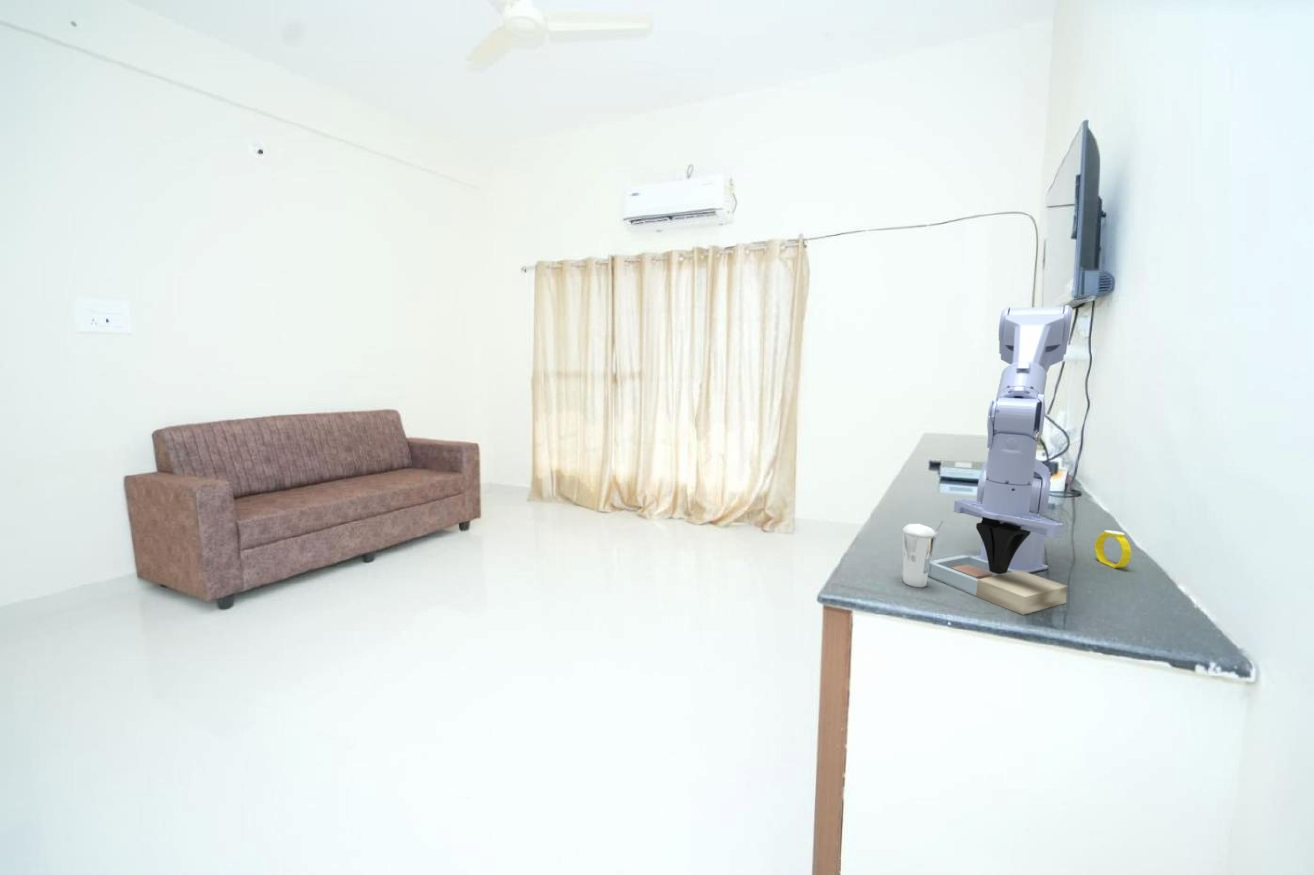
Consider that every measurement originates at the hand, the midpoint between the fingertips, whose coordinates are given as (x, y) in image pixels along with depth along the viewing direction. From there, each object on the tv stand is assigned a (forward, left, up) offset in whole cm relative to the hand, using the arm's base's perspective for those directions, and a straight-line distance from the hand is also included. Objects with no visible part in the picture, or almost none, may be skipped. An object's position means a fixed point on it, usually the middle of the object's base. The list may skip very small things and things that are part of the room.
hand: (998, 571), depth 80 cm
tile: (0, -4, -1) cm, 4 cm away
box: (0, -4, -3) cm, 5 cm away
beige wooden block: (0, +3, -3) cm, 4 cm away
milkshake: (+9, -6, -3) cm, 11 cm away
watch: (-31, 0, -3) cm, 31 cm away
